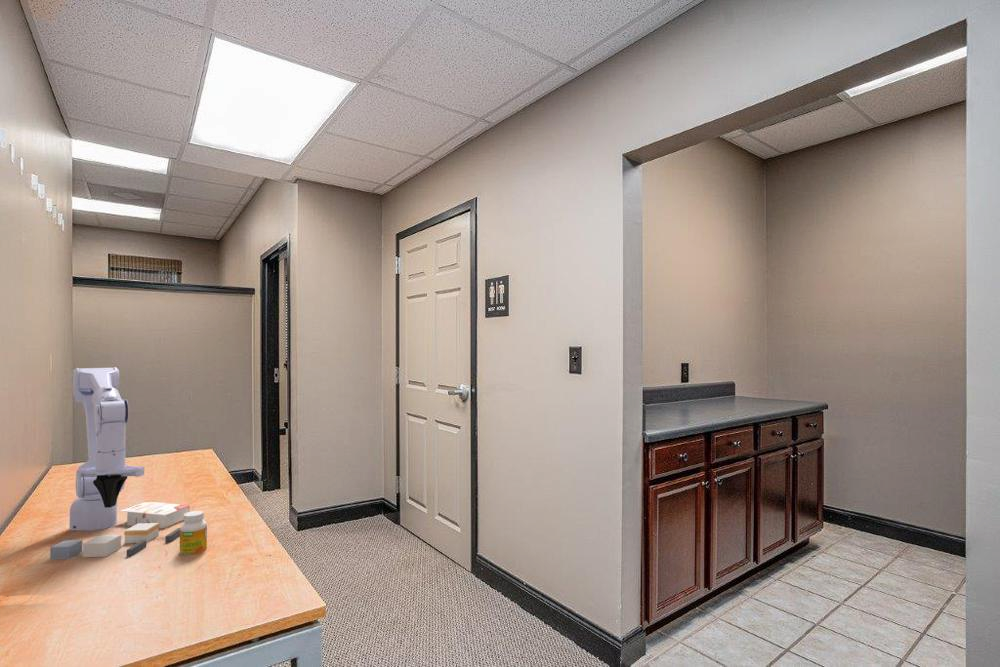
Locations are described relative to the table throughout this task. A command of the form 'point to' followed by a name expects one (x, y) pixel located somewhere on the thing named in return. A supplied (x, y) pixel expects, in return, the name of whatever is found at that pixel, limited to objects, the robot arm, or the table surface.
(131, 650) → the table surface
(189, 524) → the supplement bottle
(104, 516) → the robot arm
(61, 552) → the gray cube
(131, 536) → the block
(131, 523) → the ink cartridge box
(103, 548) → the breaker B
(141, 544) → the panel
